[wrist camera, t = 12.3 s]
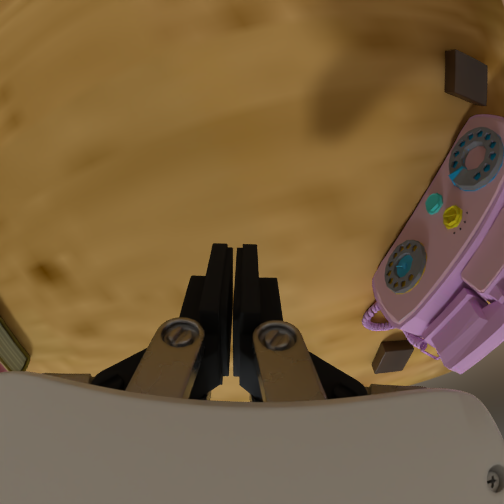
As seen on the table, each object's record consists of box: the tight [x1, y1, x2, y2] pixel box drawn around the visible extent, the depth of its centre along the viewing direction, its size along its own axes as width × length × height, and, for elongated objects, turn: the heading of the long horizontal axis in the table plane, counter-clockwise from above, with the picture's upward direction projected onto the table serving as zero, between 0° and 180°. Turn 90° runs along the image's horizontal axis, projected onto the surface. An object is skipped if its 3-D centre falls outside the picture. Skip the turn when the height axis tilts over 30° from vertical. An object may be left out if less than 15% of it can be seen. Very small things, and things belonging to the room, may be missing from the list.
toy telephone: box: [362, 114, 504, 374], centre depth 13 cm, size 18×6×10 cm, turn 154°
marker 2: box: [445, 49, 487, 106], centre depth 12 cm, size 3×3×1 cm
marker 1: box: [372, 340, 414, 374], centre depth 23 cm, size 3×3×1 cm
